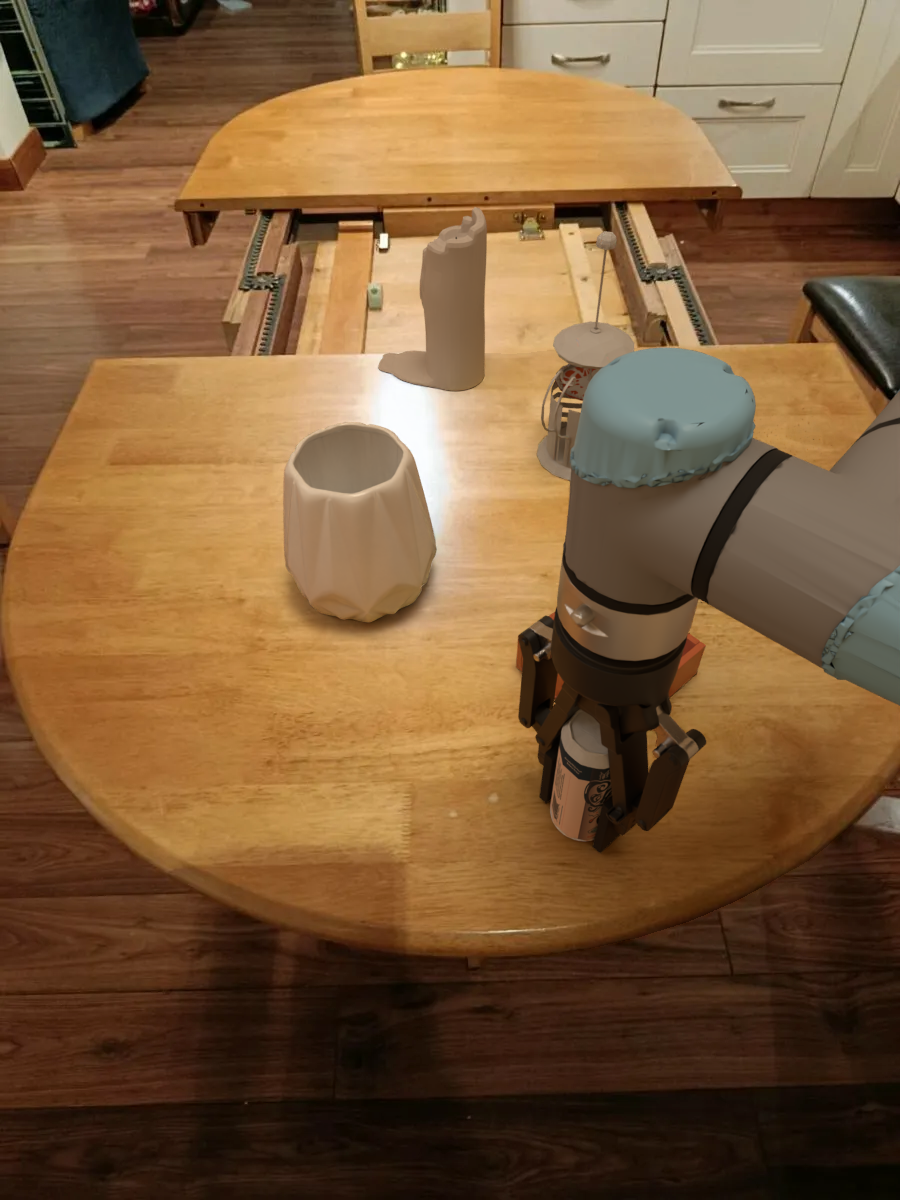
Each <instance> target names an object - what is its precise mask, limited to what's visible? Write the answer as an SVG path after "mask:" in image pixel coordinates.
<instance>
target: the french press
mask: <svg viewBox="0 0 900 1200" xmlns="http://www.w3.org/2000/svg"><path fill="white" fill-rule="evenodd" d="M617 240H618V239H617V236H616V234H615V233H614V232H613V231H606V230H604V231H602V232H601V233H599V234H598V235H597V236H596V242H595V247H596V248H598V249H600V250H604V251H603V258H602V267H601V274H600V275H601V276H600V283H599V292H598V298H597V308H596V316H595V321H585V322H580V323H575V324H572V325H570V326H567V327H565V328H563V329H561V330H560V331H559V332H558V333H557V334H556V335H555V336H554V338H553V343H552V344H553V345H552V346H553V348H554V350H555V352H556V354H557V356H558V357H559V358H560V359H562V360H563V361H564V362H565V363H567V364H565V365H563V366H561V367H560V369H559V370H557V372H555V375H554V376H553V377H552V379H551V380H550V383H549V384H548V387H547V389H546V392H545V394H544V397H543V400H542V404H541V414H540V420H541V425H542V427H543V429H544V431H546V432H547V435H545V436H544V437H543V439H542V440H541V441H540V442H539V443H538V445H537V450H536V457H537V458H538V460H539V463H540V465H541V467H543V468H544V469H545V470H546V471H548V472H549V473H550V474H552V475H553V476H555V477H559V478H561V479H563V480H565V481H570V479H571V463H570V455H571V449H572V448H573V446H574V442H575V439H576V434H577V429H578V423H579V418H580V413H581V411H580V412H579V411H575V410H572V409H578V410H579V409H580V410H581V408H582V403H583V398H584V394H585V391H586V389H587V386H588V384H589V382H590V381H591V379H592V378H593V376H594V375H595V374H596V373H597V372H598V371H599V370H600V369H601V368H602V367H604V366H606V365H608V364H609V363H610V362H612V361H613V360H614V359H616V358H618V357H620V356H622V355H625V354H627V353H630V352H634V351H635V341H634V339H632V337H631V336H630V334H629V333H627V332H626V331H624V330H622V329H620V327H617V326H615V325H612V324H610V323H608V322H599V317H600V310H601V309H600V308H601V302H602V301H601V300H602V292H603V284H604V277H605V268H606V262H607V261H606V259H607V251H610V250H613V249H615V248H616V247H617ZM556 389H559V391H557V392H555V393H554V391H555V390H556ZM550 391H551V392H550ZM549 392H550V399H549V401H550V402H549V414H548V425H547V427H546V424H545V404H546V400H547V398H548V395H549ZM553 393H554V394H553ZM563 398H564V399H570V400H571V399H572V400H578V401H582V402H581V403H579V402H578V403H577V402H566V401H565V402H564V401H562V399H563ZM556 399H558V400H556ZM563 409H568V411H563ZM562 418H565V419H566V418H567V420H566V421H563V420H562Z"/></svg>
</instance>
